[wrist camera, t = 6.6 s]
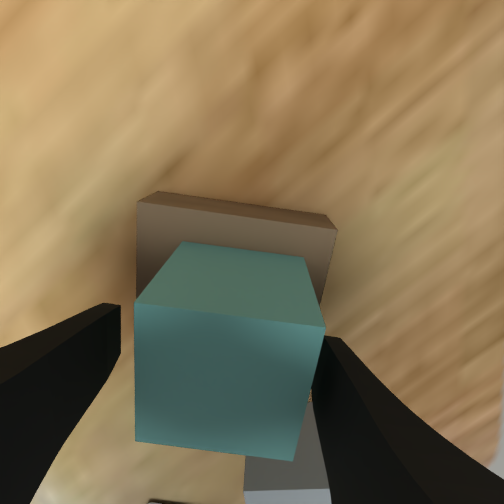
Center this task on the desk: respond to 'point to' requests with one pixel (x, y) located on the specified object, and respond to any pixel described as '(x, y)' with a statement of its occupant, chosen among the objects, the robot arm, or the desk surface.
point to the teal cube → (226, 351)
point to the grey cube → (290, 472)
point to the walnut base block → (229, 232)
